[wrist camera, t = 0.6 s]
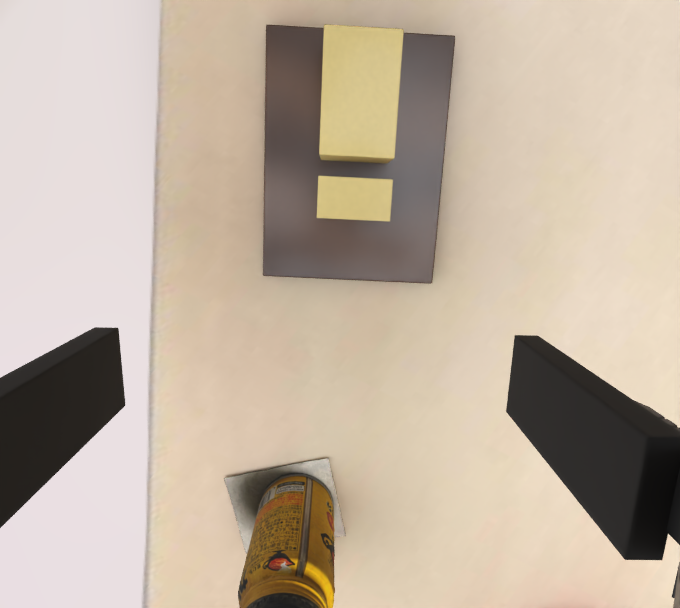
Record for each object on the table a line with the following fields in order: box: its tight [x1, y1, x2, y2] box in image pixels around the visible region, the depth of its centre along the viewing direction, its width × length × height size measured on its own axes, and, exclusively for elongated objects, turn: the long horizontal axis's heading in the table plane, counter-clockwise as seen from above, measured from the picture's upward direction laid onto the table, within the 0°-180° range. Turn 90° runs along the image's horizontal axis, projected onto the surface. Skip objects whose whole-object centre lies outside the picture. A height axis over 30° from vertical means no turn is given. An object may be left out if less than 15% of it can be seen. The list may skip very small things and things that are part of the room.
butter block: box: [319, 24, 404, 163], centre depth 28 cm, size 7×4×4 cm, turn 177°
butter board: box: [263, 25, 455, 283], centre depth 31 cm, size 16×12×1 cm
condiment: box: [224, 458, 346, 608], centre depth 31 cm, size 7×8×12 cm
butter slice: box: [317, 176, 393, 222], centre depth 29 cm, size 2×4×4 cm, turn 87°
